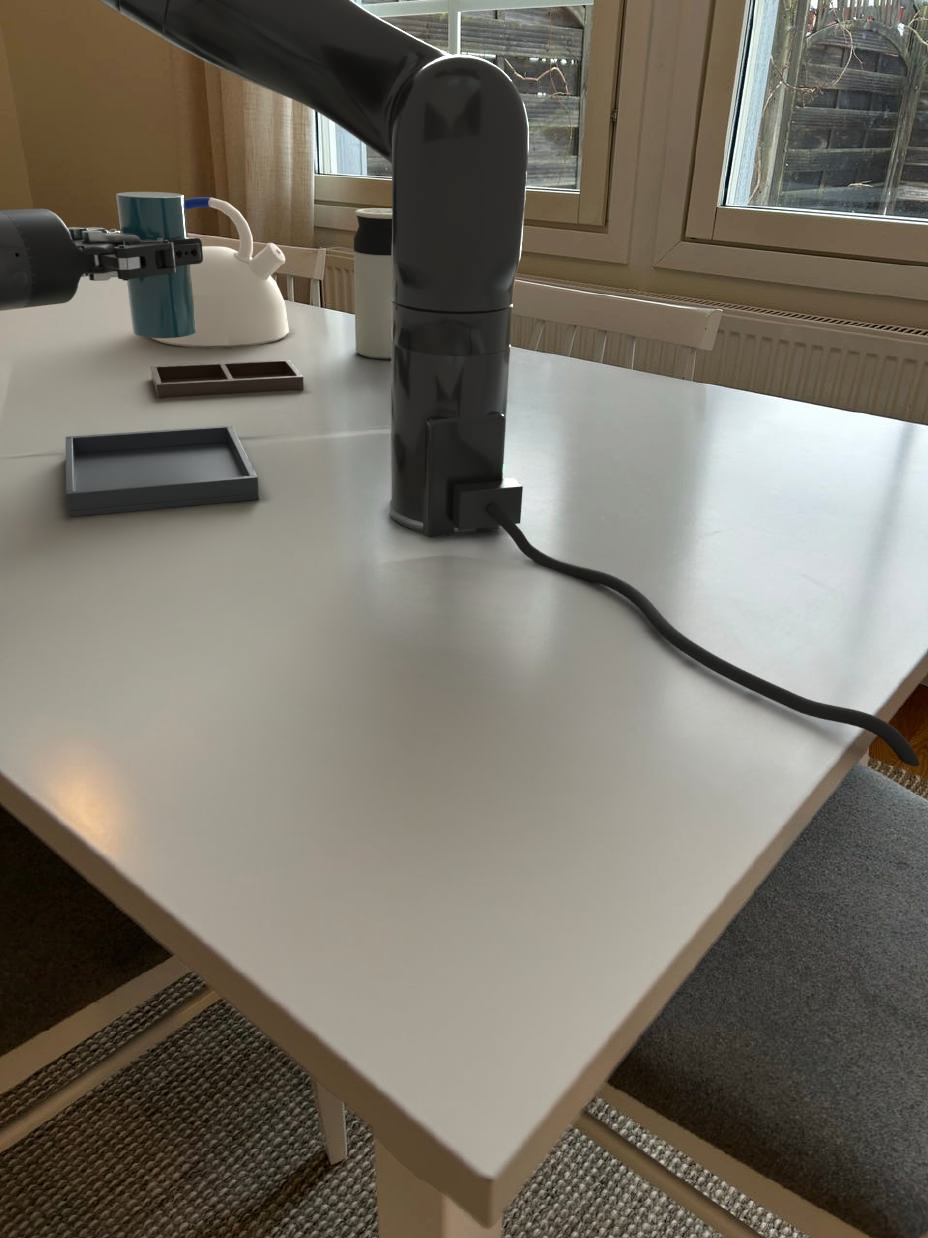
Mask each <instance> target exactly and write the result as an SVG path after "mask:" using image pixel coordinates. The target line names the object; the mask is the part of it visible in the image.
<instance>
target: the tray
mask: <svg viewBox="0 0 928 1238" xmlns="http://www.w3.org/2000/svg"><path fill="white" fill-rule="evenodd" d="M244 449H245V448H244V447H243V445H242V443H241V441H240V438H239V437H238V435H237V433H236V431H235V429H234V427H233V425H231V424H230V425H217V426H215V425H214V426H202V427H201V426H200V427H188V428H187V427H186V428H174V429H173V428H172V429H159V430H145V431H144V430H141V431H130V432H115V433H113V432H112V433H101V434H85V435H83V434H82V435H71V436H70V435H69V436H65V497H66V503H67V509H68V513H69V517H70V518H73V517H75V518H76V517H84V516H85V517H86V516H94V515H105V514H106V515H107V514H117V513H118V514H119V513H126V512H127V513H128V512H139V511H149V510H158V509H159V510H160V509H170V508H180V507H181V508H182V507H192V506H200V505H211V504H223V503H234V502H241V501H242V502H244V501H254V500H260V493H259V492H260V489H259V477H258V476H257V473H256V471H255V469H254V468H253V465H252V463H251V461H250V459H249V457H248V455H247V453H246V451H245V450H244Z"/></svg>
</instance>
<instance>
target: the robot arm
mask: <svg viewBox="0 0 928 1238" xmlns="http://www.w3.org/2000/svg"><path fill="white" fill-rule="evenodd" d="M98 1H99V2H101V3H102V4H104V5H105V6H107V7H108V8H109V9H112V10H113V11H115V12H116V13H118V14H119V15H122V16H123V17H125V18H126V19H128V20H130V21H131V22H133V23H135V24H136V25H138V26H140V27H142V28H143V29H145V30H147V31H148V32H150V33H152V34H154V35H155V36H156V37H159V38H160V39H161V40H164V41H165V42H167V43H169V44H171V46H174V47H176V48H177V49H180V50H182V51H183V52H185V53H187V54H189V55H191V56H193V57H194V58H197V59H199V60H201V61H203V62H205V63H207V64H209V65H211V66H213V67H216V68H218V69H220V70H222V71H224V72H226V73H229V74H231V75H233V76H235V77H238V78H240V79H242V80H244V81H247V82H248V83H251V84H253V85H256V86H259V87H260V88H263V89H266V90H268V91H270V92H273V93H276V94H278V95H281V96H283V97H285V98H289V99H291V100H293V101H295V102H297V103H300V104H302V105H304V106H306V107H307V108H309V109H311V110H313V111H315V112H317V113H318V114H320V115H322V116H323V117H324V118H327V119H328V120H330V121H331V122H333V123H335V124H336V125H338V126H339V127H340V128H342V129H343V130H345V132H347V133H349V134H350V135H352V136H353V137H354V138H356V139H357V140H359V141H360V142H361V143H363V144H364V145H366V146H367V147H368V148H370V149H371V150H372V151H374V152H375V153H376V154H377V155H379V156H380V157H381V158H383V159H384V160H386V161H387V162H388V163H389V164H391V209H392V252H391V299H392V301H391V359H390V469H391V470H390V476H391V478H390V480H391V481H390V484H391V485H390V486H391V488H390V489H391V491H390V492H391V493H390V494H391V495H390V496H391V498H390V501H389V513H390V517H392V519H393V520H394V521H395V522H397V523H399V525H402V526H403V527H406V528H408V529H412V530H415V531H419V532H422V533H424V534H425V535H426V537H428V538H437V537H444V536H452V535H453V536H454V535H462V534H471V533H480V532H488V531H496V530H497V531H498V530H500V529H501V528H502V529H503V530H504V531H505V532H506V533H507V534H508V535H509V536H510V537H511V539H512V540H513V542H514V543H515V544H516V546H517V548H518V549H519V550H520V552H521V553H522V554H523V555H524V556H525V557H528V558H529V559H530V560H532V561H533V562H535V563H536V564H538V565H540V566H542V567H546V568H548V569H549V570H554V571H556V572H559V573H562V574H565V575H567V576H571V577H574V578H577V579H580V580H585V581H589V582H592V583H596V584H599V585H602V586H605V587H606V588H609V589H612V590H613V591H614V592H615V591H616V592H617V593H619V594H620V595H621V596H623V597H625V598H626V599H627V600H628V601H630V602H631V603H632V604H633V605H635V606H636V608H638V610H640V612H641V613H642V614H643V615H644V617H645V618H646V619H647V620H648V621H649V622H650V624H651V625H652V626H653V627H654V628H655V629H656V631H657V632H658V633H659V634H660V635H662V637H663V638H664V639H665V640H667V641H668V642H669V643H670V644H671V645H673V646H674V647H675V648H677V649H678V650H679V651H680V652H682V653H683V654H685V655H687V656H688V657H690V658H691V659H693V660H694V661H696V662H698V663H699V664H701V665H702V666H704V667H706V668H708V669H710V670H711V671H712V672H715V673H716V674H719V675H720V676H722V677H725V678H726V679H728V680H730V681H732V682H734V683H736V684H737V685H739V686H742V687H744V688H746V689H748V690H750V691H752V692H754V693H757V694H758V695H760V696H762V697H764V698H767V699H769V700H771V701H774V702H775V703H777V704H780V705H782V706H784V707H787V708H788V709H791V710H793V711H795V712H797V713H800V714H803V715H806V716H809V717H814V718H817V719H821V720H825V721H831V722H836V723H840V724H843V725H849V726H854V727H857V728H860V729H863V730H866V731H868V732H870V733H872V734H874V735H876V736H877V737H879V738H880V739H881V740H882V741H884V742H885V743H886V744H887V745H888V746H889V747H890V748H891V749H892V751H893V752H894V753H895V755H896V756H897V758H898V760H899V761H901V762H902V763H903V764H905V765H908V766H910V767H918V766H920V765H921V764H920V761H919V758H918V756H917V754H916V752H915V750H914V748H913V747H912V746H911V744H910V743H909V742H908V740H907V739H906V738H905V737H904V736H903V735H902V733H901V732H900V731H899V730H897V729H896V727H894V726H893V725H891V724H890V723H888V722H886V721H885V720H883V719H881V718H880V717H877V716H875V715H873V714H871V713H868V712H864V711H860V710H858V709H852V708H849V707H844V706H838V705H832V704H828V703H824V702H818V701H815V700H812V699H809V698H806V697H803V696H801V695H799V694H796V693H794V692H792V691H790V690H787V689H786V688H783V687H781V686H778V685H776V684H774V683H772V682H769V681H768V680H766V679H763V678H761V677H759V676H757V675H755V674H753V673H750V672H749V671H746V670H744V669H742V668H741V667H738V666H736V665H735V664H732V663H730V662H728V661H727V660H725V659H722V658H720V657H719V656H717V655H715V654H714V653H712V652H710V651H709V650H707V649H705V648H704V647H702V646H701V645H699V644H698V643H696V642H694V641H693V640H692V639H689V638H688V637H686V636H685V635H684V634H682V632H680V631H679V630H677V629H676V628H675V627H674V626H673V625H672V624H671V623H670V622H668V620H667V619H666V618H665V617H664V616H663V614H661V612H660V611H659V610H658V609H657V607H655V605H654V604H653V603H652V602H651V601H650V599H648V598H647V597H646V596H645V595H644V594H643V593H642V592H640V591H639V590H638V589H637V588H636V587H634V586H632V585H631V584H629V583H628V582H626V581H624V580H622V579H621V578H619V577H618V576H615V575H612V574H609V573H607V572H603V571H600V570H595V569H592V568H589V567H585V566H584V567H583V566H579V565H574V564H571V563H567V562H563V561H561V560H558V559H556V558H553V557H552V556H549V555H547V554H546V553H543V552H542V551H540V550H539V549H537V548H536V547H535V546H533V545H532V544H531V542H529V540H528V539H527V537H526V536H525V534H524V533H523V531H522V529H520V527H518V525H519V524H521V519H522V505H523V493H524V492H523V491H524V490H523V489H524V486H523V485H522V484H521V483H520V482H519V481H518V480H516V479H515V478H513V477H508V478H504V471H505V463H504V462H505V461H504V460H505V445H506V429H507V412H508V411H507V410H508V392H509V377H510V376H509V375H510V360H511V344H512V330H513V329H512V328H513V311H514V310H513V309H514V305H513V304H514V295H515V283H516V278H517V274H518V270H519V266H520V261H521V254H522V242H523V231H524V230H523V229H524V220H525V219H524V217H525V205H526V194H527V193H526V192H527V178H528V165H529V147H530V146H529V144H530V143H529V121H528V115H527V111H526V106H525V104H524V101H523V97H522V96H521V94H520V92H519V90H518V88H517V87H516V85H515V84H514V83H513V81H512V79H510V77H509V76H508V74H506V73H505V72H504V71H503V70H502V69H501V68H499V67H498V66H497V65H495V64H493V63H492V62H490V61H488V60H486V59H484V58H480V57H478V56H473V55H468V54H453V55H452V54H450V53H448V52H446V51H444V50H441V49H439V48H437V47H435V46H433V45H431V44H429V43H427V42H425V41H423V40H421V39H419V38H417V37H415V36H414V35H411V34H410V33H408V32H405V31H404V30H402V29H400V28H398V27H396V26H394V25H392V24H391V23H389V22H387V21H386V20H383V19H381V18H379V17H378V16H377V15H375V14H373V13H372V12H370V11H368V10H366V9H365V8H364V7H362V5H359V4H358V3H356V2H355V1H354V0H98ZM123 241H127V242H129V244H130V245H129V246H127V245H123ZM202 247H203V241H202V240H201V239H200V238H198V237H193V236H192V237H191V236H190V237H189V236H188V238H176V239H163V238H157V239H140V238H139V237H138V236H137V235H136V234H134V233H121V230H117V229H116V228H110V229H109V230H107V228H105V227H98V226H97V227H96V226H90V227H78V226H70V227H67V226H66V223H65V222H64V221H63V220H62V219H61V217H59V215H57V214H56V213H55V212H53V211H52V210H50V209H47V208H41V207H40V208H23V209H22V208H20V209H4V210H2V209H0V312H2V311H12V310H19V309H27V308H35V307H43V306H52V305H61V304H66V303H68V302H70V301H71V300H72V299H73V298H74V297H75V295H76V293H77V291H78V288H79V283H80V280H81V278H84V277H88V280H89V281H93V282H99V281H109V280H110V279H111V278H117V279H118V280H122V281H125V282H127V281H128V280H129V279H134V278H141V277H148V276H155V275H162V274H172V273H175V272H176V269H175V266H182V265H192V264H200V263H202V261H203V251H202ZM500 527H501V528H500Z"/></svg>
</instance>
